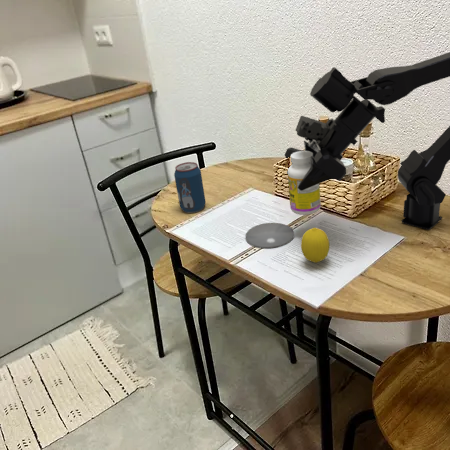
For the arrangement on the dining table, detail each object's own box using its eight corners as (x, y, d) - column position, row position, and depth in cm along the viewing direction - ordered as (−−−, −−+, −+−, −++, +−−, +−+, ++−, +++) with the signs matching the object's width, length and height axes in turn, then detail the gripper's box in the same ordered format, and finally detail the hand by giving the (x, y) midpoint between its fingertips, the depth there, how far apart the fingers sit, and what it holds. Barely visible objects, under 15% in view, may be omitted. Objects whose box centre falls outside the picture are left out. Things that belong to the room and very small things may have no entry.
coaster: (303, 232, 107) (303, 230, 107) (272, 253, 101) (272, 251, 100) (267, 220, 114) (267, 218, 114) (235, 239, 108) (235, 237, 108)
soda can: (202, 200, 130) (195, 159, 124) (209, 210, 124) (203, 167, 118) (177, 206, 128) (170, 165, 122) (184, 216, 122) (176, 173, 117)
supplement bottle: (290, 203, 108) (286, 150, 102) (320, 201, 107) (317, 147, 101) (290, 217, 102) (285, 161, 96) (321, 215, 101) (318, 158, 95)
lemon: (323, 272, 92) (322, 237, 89) (297, 266, 95) (295, 232, 92) (333, 258, 96) (333, 223, 93) (308, 253, 99) (306, 219, 96)
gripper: (311, 91, 102) (265, 147, 107) (326, 113, 85) (271, 178, 91) (348, 122, 105) (302, 174, 110) (370, 149, 88) (314, 209, 94)
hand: (297, 182), depth 101 cm, fingers closed on supplement bottle, 7 cm apart
